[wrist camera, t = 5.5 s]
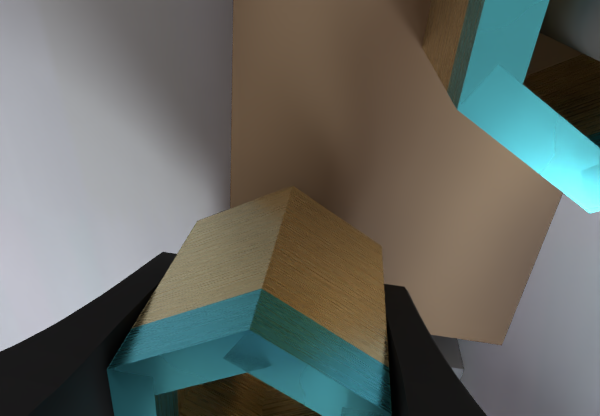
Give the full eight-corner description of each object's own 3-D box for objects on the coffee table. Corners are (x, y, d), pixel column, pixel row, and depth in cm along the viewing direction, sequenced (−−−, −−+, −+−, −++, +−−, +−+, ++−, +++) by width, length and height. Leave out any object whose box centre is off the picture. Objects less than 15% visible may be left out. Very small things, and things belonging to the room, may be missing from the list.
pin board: (659, -142, 10) (917, -223, 5) (491, 313, 17) (541, 462, 12) (251, -176, 11) (160, -275, 6) (239, 277, 17) (189, 404, 12)
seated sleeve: (724, -153, 9) (1063, -248, 5) (606, 127, 12) (750, 234, 7) (466, -173, 9) (556, -281, 5) (410, 104, 12) (435, 193, 8)
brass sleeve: (391, 198, 11) (408, 353, 7) (358, 361, 14) (355, 547, 10) (196, 173, 12) (96, 306, 7) (200, 338, 14) (129, 507, 10)
